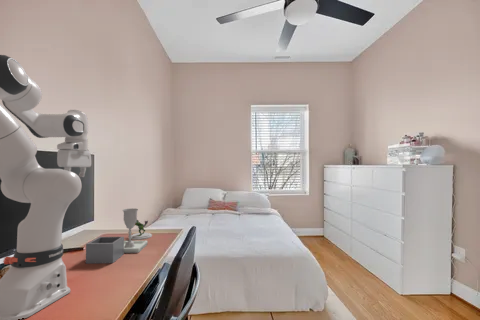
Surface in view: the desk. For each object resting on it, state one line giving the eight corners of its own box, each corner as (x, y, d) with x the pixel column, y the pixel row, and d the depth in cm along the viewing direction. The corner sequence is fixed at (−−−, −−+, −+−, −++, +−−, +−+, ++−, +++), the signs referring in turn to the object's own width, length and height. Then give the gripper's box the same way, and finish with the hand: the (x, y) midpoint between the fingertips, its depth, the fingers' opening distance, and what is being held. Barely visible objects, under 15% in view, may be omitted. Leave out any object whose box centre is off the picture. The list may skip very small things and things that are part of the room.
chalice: (118, 247, 123) (119, 210, 124) (129, 243, 130) (130, 208, 130) (130, 249, 120) (130, 211, 121) (140, 245, 127) (141, 209, 127)
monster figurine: (125, 237, 146) (125, 219, 146) (144, 233, 155) (144, 216, 156) (137, 241, 139) (137, 222, 139) (156, 236, 148) (156, 218, 148)
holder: (112, 263, 106) (113, 243, 106) (85, 263, 105) (86, 243, 105) (123, 254, 117) (124, 236, 117) (99, 254, 116) (99, 236, 116)
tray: (138, 252, 119) (138, 248, 119) (110, 253, 118) (110, 248, 118) (147, 244, 132) (147, 240, 132) (121, 244, 131) (121, 240, 131)
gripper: (82, 148, 126) (81, 176, 126) (54, 144, 106) (53, 178, 105) (95, 148, 126) (94, 176, 126) (69, 144, 106) (69, 178, 106)
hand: (75, 177), depth 115 cm, fingers open, 8 cm apart
